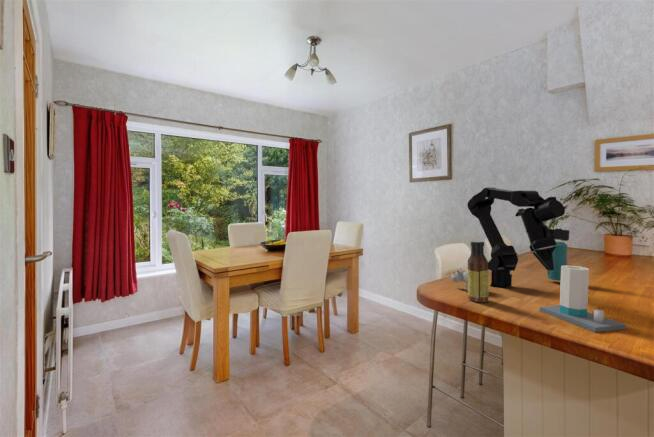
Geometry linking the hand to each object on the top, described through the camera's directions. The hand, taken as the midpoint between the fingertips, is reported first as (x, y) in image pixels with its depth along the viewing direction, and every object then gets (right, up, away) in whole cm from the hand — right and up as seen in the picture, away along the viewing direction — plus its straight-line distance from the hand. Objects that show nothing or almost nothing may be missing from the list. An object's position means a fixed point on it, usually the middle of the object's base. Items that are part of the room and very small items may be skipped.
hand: (550, 270), depth 104 cm
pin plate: (-3, -11, -16) cm, 20 cm away
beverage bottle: (+19, -9, +24) cm, 32 cm away
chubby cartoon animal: (-21, -10, +14) cm, 27 cm away
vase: (-4, -10, -14) cm, 18 cm away
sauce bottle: (-24, -10, +1) cm, 26 cm away
